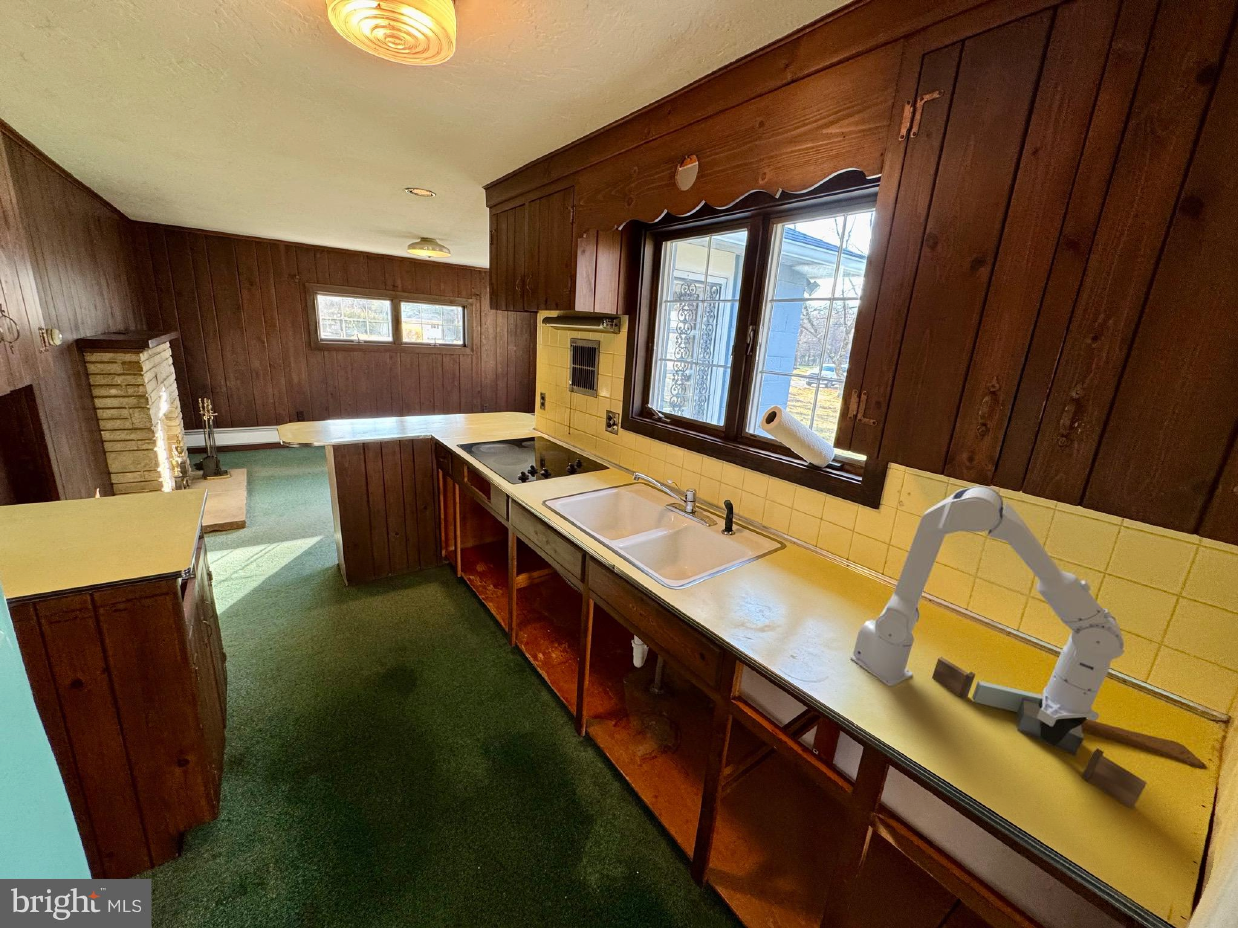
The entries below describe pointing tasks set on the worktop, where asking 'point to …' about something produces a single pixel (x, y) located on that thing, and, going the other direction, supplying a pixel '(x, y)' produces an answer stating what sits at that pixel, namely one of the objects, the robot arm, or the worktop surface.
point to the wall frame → (1098, 767)
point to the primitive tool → (1143, 742)
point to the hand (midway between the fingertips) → (1049, 740)
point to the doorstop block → (1032, 726)
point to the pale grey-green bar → (1002, 696)
